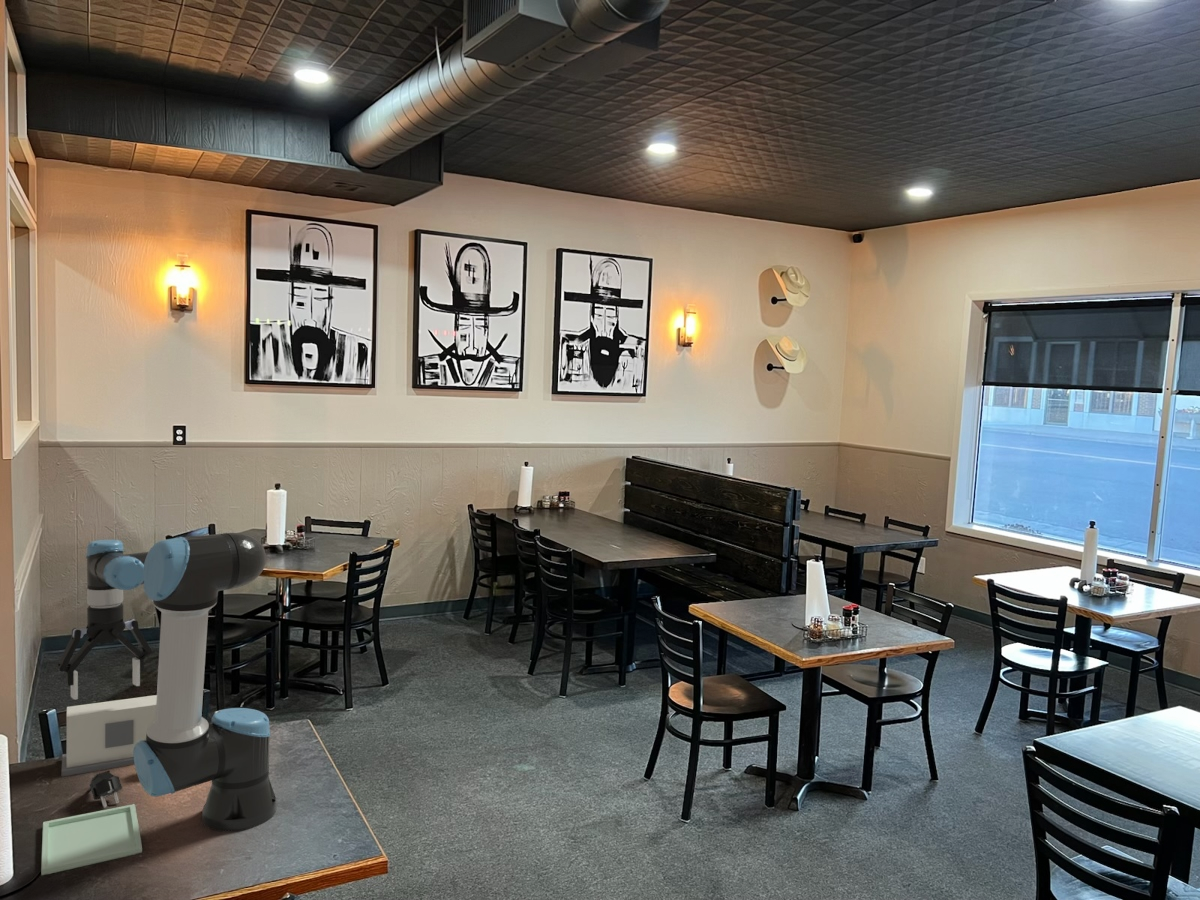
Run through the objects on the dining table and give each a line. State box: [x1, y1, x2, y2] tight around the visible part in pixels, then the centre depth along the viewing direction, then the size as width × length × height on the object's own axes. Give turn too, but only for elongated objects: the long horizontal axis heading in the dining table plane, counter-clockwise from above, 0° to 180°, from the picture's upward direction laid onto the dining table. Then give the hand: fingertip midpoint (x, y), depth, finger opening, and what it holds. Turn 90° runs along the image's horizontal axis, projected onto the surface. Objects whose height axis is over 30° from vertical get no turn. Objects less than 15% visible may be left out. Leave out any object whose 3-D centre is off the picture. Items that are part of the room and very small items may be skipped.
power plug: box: [87, 770, 123, 809], centre depth 192 cm, size 6×8×12 cm
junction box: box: [61, 694, 157, 777], centre depth 212 cm, size 24×10×14 cm, turn 121°
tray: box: [40, 803, 143, 877], centre depth 175 cm, size 20×17×2 cm
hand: (106, 691), depth 205 cm, fingers open, 13 cm apart
